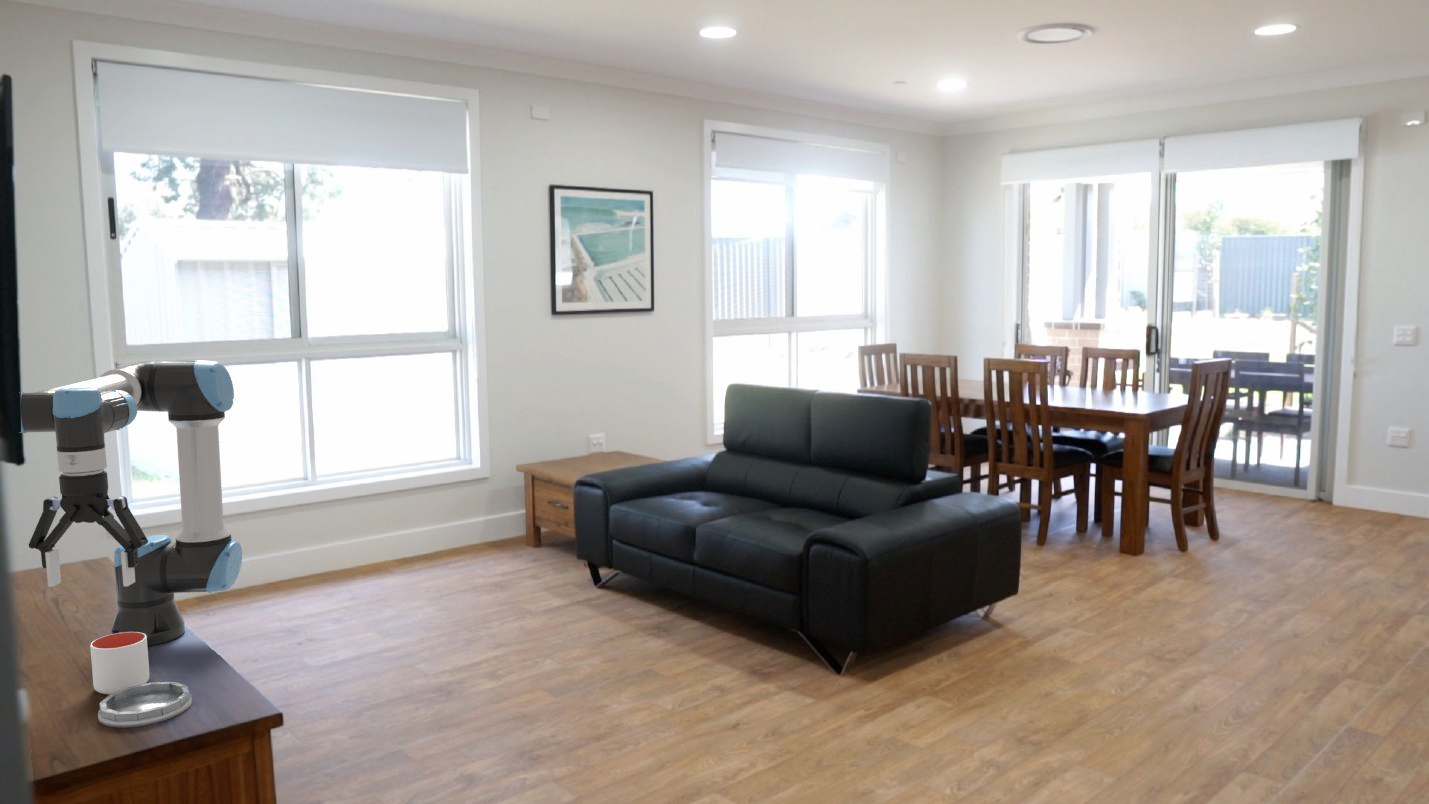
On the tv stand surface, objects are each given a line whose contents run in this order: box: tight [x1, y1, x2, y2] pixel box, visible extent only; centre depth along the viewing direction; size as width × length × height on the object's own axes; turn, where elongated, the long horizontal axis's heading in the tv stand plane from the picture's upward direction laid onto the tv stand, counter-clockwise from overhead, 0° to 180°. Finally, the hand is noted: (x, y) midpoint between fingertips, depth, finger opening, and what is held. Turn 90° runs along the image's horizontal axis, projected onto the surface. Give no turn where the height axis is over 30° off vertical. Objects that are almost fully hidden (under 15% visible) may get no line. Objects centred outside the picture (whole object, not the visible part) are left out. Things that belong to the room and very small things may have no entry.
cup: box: [89, 632, 150, 695], centre depth 209 cm, size 10×10×10 cm
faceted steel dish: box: [97, 681, 193, 729], centre depth 198 cm, size 16×16×2 cm
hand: (92, 584), depth 188 cm, fingers open, 13 cm apart
